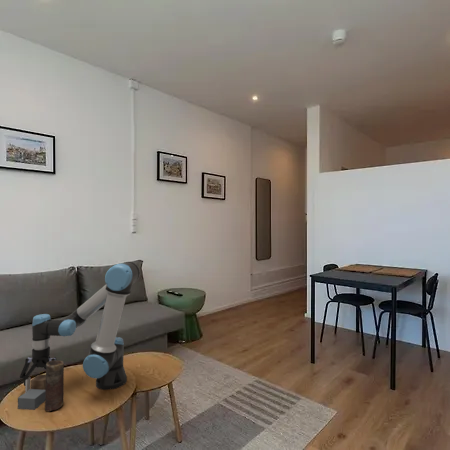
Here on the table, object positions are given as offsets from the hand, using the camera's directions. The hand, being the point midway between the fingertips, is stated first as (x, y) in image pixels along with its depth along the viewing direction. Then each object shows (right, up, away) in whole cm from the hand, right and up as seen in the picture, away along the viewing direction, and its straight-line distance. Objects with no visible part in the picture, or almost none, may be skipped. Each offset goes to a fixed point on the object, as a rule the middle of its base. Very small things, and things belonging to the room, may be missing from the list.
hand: (40, 392), depth 156 cm
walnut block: (0, -1, 0) cm, 1 cm away
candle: (+13, -1, -11) cm, 17 cm away
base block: (+1, -1, -9) cm, 9 cm away
